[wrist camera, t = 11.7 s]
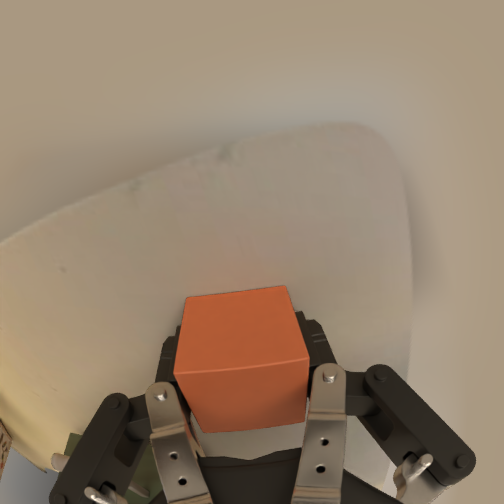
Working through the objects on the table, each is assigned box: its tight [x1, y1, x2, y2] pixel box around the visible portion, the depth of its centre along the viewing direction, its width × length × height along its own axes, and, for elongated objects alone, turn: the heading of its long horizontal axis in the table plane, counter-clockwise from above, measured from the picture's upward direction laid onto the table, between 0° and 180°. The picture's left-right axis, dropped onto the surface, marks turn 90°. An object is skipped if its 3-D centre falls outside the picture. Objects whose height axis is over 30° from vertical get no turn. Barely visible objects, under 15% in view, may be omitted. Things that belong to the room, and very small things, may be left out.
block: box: [173, 286, 310, 433], centre depth 12 cm, size 5×5×5 cm
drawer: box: [51, 433, 163, 504], centre depth 16 cm, size 19×13×8 cm
